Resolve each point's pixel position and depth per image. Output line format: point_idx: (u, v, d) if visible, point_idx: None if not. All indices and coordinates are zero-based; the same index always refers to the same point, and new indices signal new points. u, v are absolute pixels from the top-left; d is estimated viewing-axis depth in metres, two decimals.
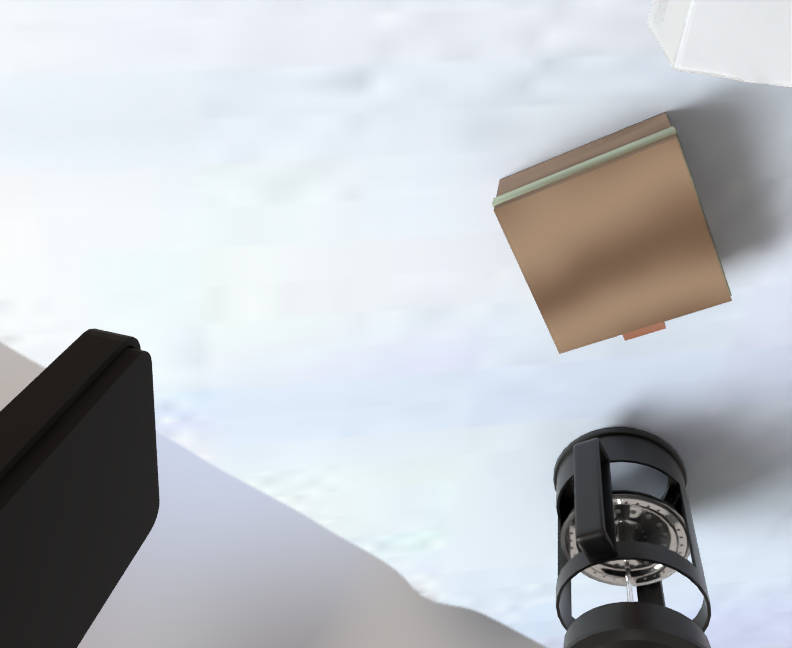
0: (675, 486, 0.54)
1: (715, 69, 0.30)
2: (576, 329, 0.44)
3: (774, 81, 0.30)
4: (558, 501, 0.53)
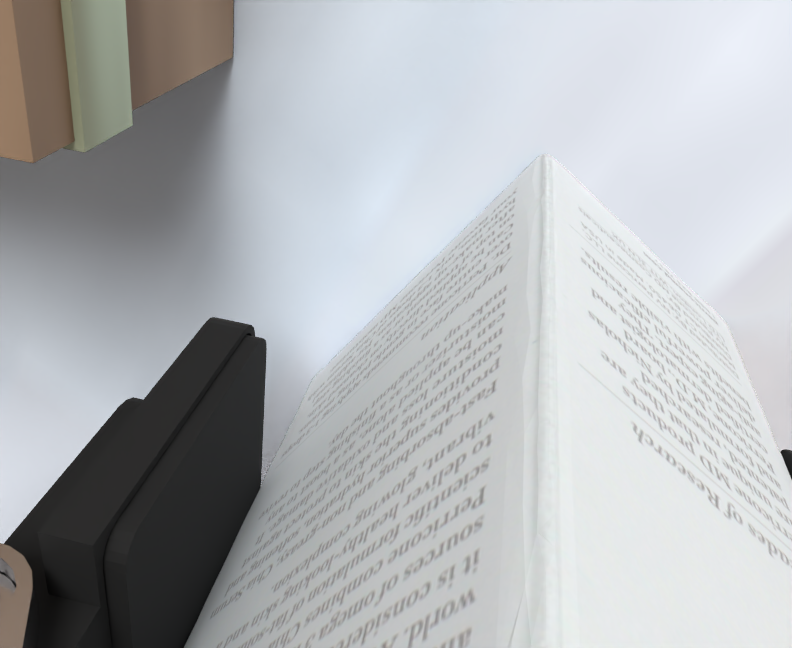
0: None
1: None
2: None
3: None
4: None
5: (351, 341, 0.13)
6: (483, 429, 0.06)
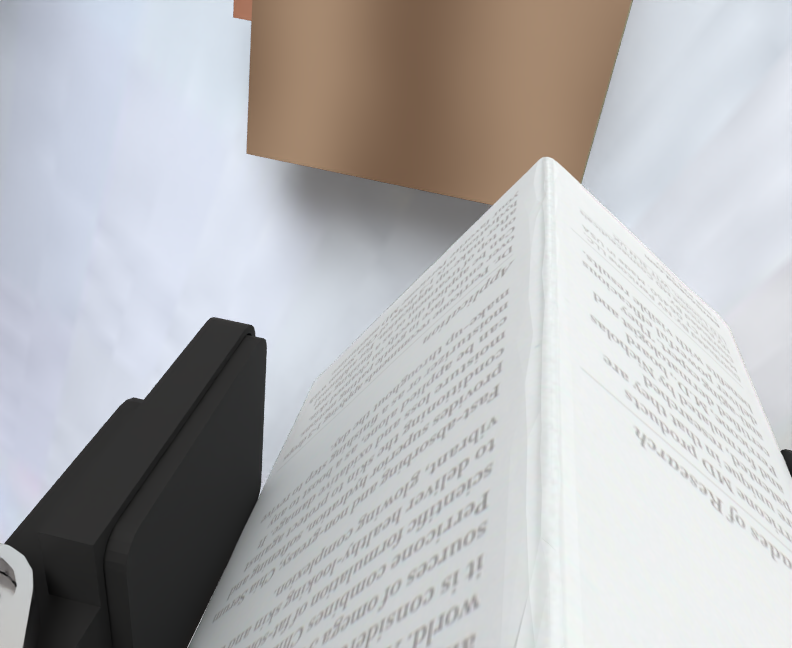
0: None
1: None
2: None
3: None
4: None
5: (352, 344, 0.13)
6: (485, 432, 0.06)
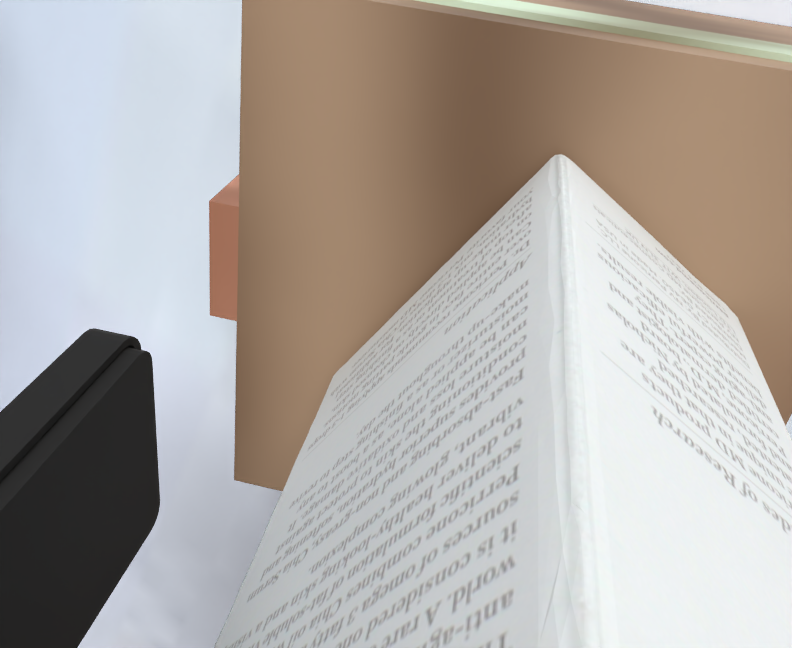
0: None
1: None
2: (316, 97, 0.12)
3: None
4: None
5: (371, 338, 0.13)
6: (514, 413, 0.06)
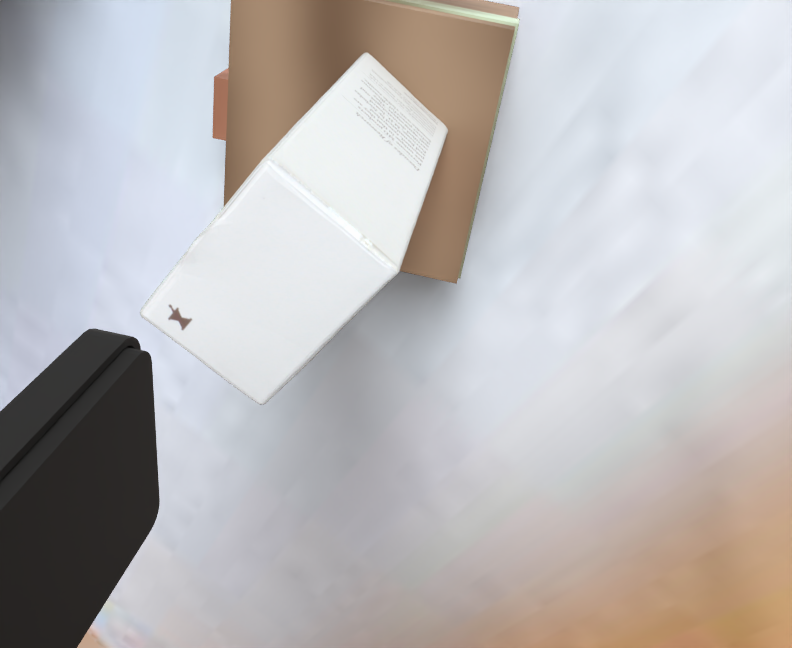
0: None
1: (235, 213, 0.17)
2: (263, 26, 0.27)
3: (180, 270, 0.18)
4: None
5: None
6: None
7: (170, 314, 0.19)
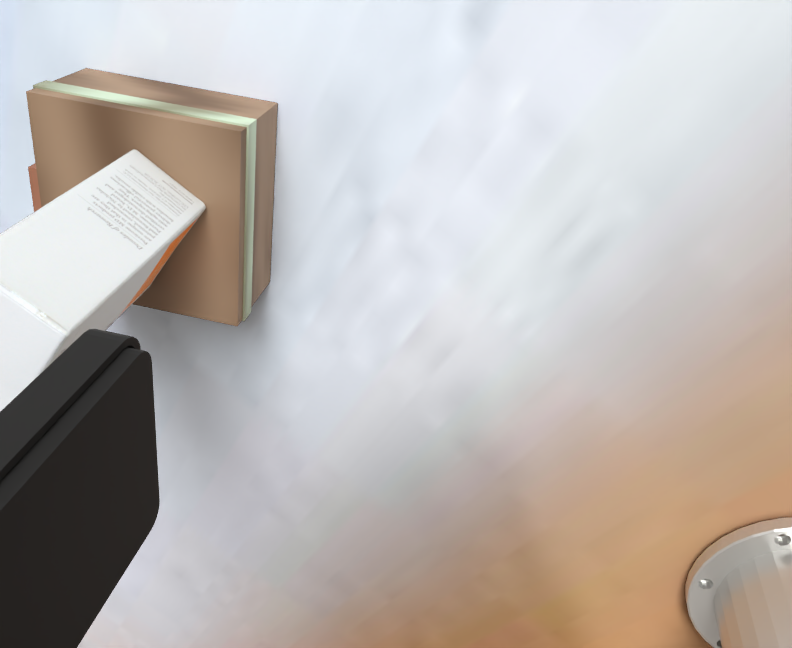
0: None
1: None
2: (55, 129, 0.34)
3: None
4: None
5: None
6: None
7: None
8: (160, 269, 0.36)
